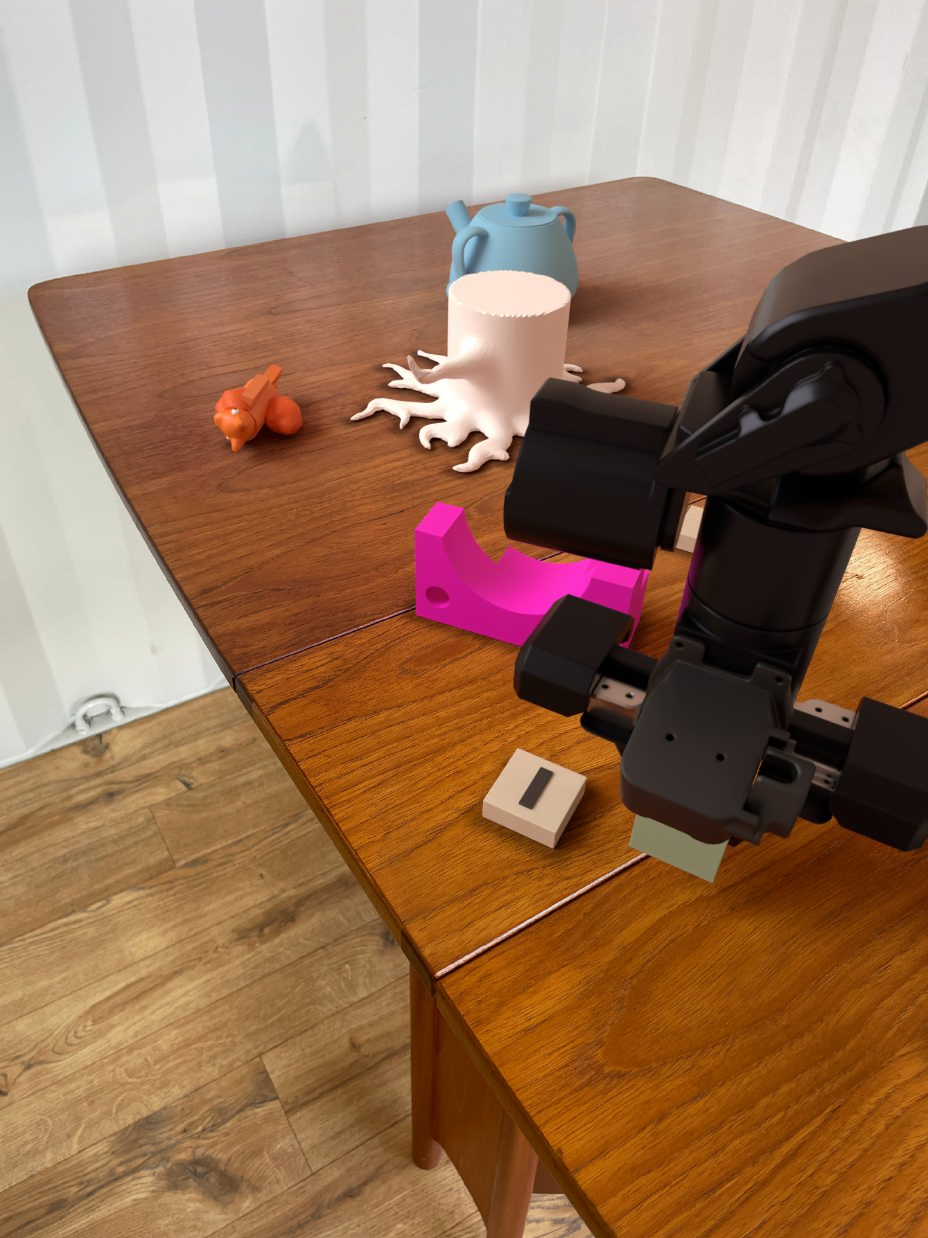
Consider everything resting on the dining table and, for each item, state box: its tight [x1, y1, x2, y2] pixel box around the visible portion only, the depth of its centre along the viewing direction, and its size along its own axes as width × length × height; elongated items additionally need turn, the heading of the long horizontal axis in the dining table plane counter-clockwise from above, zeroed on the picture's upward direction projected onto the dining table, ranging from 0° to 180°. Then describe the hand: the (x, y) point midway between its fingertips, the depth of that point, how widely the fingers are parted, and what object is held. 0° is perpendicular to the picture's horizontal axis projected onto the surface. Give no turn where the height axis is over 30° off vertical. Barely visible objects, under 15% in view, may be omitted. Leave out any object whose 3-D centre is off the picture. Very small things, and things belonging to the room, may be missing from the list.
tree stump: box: [350, 270, 626, 473], centre depth 86 cm, size 28×28×11 cm
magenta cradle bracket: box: [414, 501, 650, 649], centre depth 62 cm, size 15×6×8 cm, turn 67°
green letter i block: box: [628, 814, 729, 884], centre depth 45 cm, size 4×4×5 cm
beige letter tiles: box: [675, 504, 704, 554], centre depth 73 cm, size 10×4×2 cm, turn 62°
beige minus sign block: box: [481, 747, 588, 850], centre depth 51 cm, size 4×4×2 cm
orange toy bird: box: [212, 363, 303, 453], centre depth 83 cm, size 5×8×12 cm
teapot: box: [444, 192, 579, 299], centre depth 106 cm, size 20×20×13 cm
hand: (686, 820), depth 46 cm, fingers closed on green letter i block, 4 cm apart
